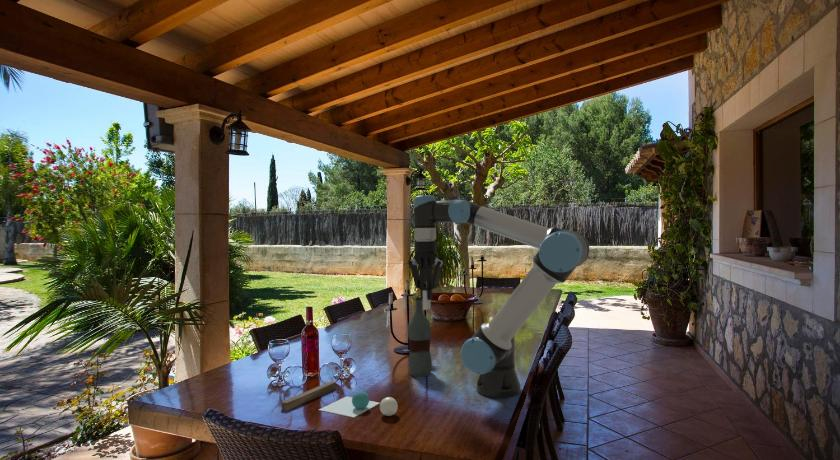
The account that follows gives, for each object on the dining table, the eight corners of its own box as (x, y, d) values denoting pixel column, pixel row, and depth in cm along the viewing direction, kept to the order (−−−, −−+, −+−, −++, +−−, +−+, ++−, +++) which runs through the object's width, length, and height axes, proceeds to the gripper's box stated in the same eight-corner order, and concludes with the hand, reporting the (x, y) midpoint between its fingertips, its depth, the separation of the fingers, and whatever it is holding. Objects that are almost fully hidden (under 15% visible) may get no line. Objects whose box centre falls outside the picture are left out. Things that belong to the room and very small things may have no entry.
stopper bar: (335, 389, 183) (335, 382, 183) (287, 410, 162) (287, 403, 162) (330, 388, 184) (330, 381, 184) (281, 409, 163) (281, 401, 163)
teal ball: (368, 386, 164) (356, 392, 167) (357, 391, 159) (345, 397, 162) (375, 403, 163) (363, 408, 165) (364, 408, 158) (352, 414, 161)
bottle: (429, 377, 194) (427, 299, 194) (406, 376, 196) (404, 299, 196) (433, 370, 203) (432, 295, 203) (411, 369, 205) (409, 295, 205)
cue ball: (387, 391, 159) (383, 407, 160) (378, 398, 154) (374, 414, 155) (402, 398, 157) (398, 414, 158) (393, 405, 152) (390, 421, 153)
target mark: (380, 403, 167) (380, 402, 167) (353, 417, 155) (353, 417, 155) (346, 396, 174) (346, 396, 174) (318, 410, 162) (318, 409, 162)
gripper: (447, 240, 174) (448, 308, 175) (414, 240, 181) (416, 306, 181) (436, 240, 168) (438, 312, 168) (403, 241, 175) (405, 309, 175)
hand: (426, 309), depth 175 cm, fingers closed
